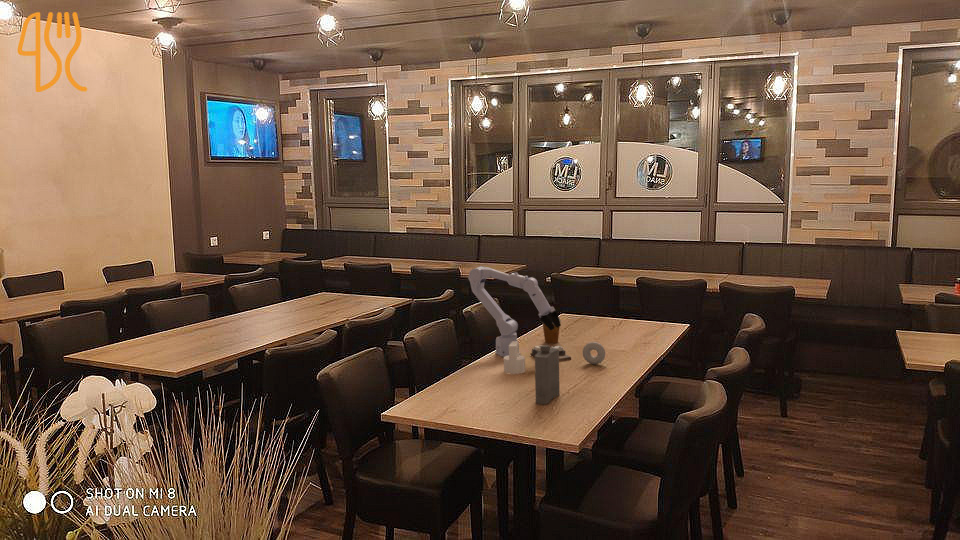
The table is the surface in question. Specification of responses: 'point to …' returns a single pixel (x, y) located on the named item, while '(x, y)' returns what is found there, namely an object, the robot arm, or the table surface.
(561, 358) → the dark brown cabinet frame
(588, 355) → the donut
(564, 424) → the table surface
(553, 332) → the disposable coffee cup
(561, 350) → the tile two
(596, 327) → the table surface
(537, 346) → the tile one
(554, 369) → the flask
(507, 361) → the cylinder with rectangular tab
